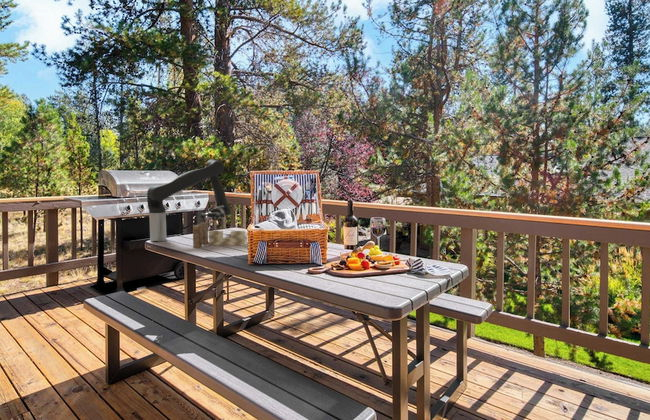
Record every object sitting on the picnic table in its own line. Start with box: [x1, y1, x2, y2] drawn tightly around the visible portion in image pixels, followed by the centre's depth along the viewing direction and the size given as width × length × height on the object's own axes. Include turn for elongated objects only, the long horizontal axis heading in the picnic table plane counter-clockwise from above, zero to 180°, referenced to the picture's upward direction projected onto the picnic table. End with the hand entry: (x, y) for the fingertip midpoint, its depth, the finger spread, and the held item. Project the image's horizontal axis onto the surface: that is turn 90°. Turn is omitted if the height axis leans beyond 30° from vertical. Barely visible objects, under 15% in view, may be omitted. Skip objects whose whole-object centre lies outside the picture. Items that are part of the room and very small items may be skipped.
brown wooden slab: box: [192, 221, 209, 249], centre depth 241 cm, size 18×3×12 cm, turn 179°
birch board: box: [208, 230, 246, 246], centre depth 241 cm, size 20×2×8 cm, turn 89°
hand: (209, 216), depth 258 cm, fingers open, 8 cm apart
